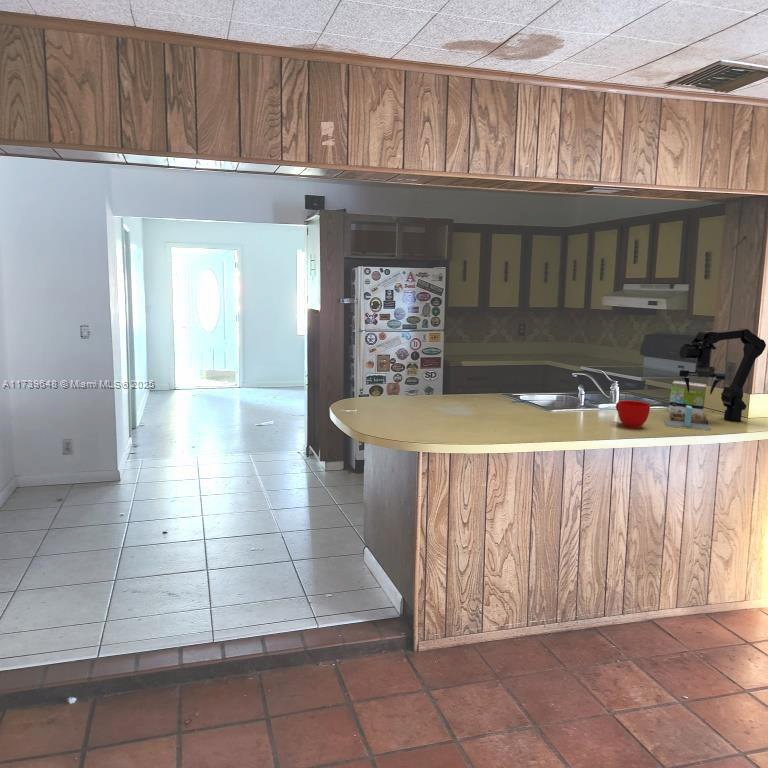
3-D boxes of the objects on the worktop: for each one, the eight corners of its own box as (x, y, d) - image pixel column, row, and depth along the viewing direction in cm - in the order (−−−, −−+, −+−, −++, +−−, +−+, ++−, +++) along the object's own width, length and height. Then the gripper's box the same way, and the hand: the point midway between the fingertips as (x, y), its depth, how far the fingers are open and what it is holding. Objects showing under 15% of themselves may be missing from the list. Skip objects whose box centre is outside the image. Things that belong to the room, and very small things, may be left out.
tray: (704, 420, 307) (705, 416, 307) (707, 425, 296) (708, 421, 296) (669, 416, 312) (670, 412, 312) (671, 421, 301) (671, 417, 301)
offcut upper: (701, 416, 305) (702, 413, 305) (703, 419, 299) (703, 416, 299) (693, 416, 306) (693, 412, 306) (694, 418, 301) (695, 415, 300)
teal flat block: (688, 423, 295) (691, 405, 294) (690, 426, 289) (692, 408, 287) (684, 423, 296) (686, 405, 295) (685, 426, 289) (687, 408, 288)
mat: (708, 426, 294) (708, 424, 294) (710, 431, 285) (711, 429, 285) (664, 422, 300) (664, 420, 300) (665, 426, 291) (665, 424, 291)
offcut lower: (702, 419, 306) (702, 416, 305) (703, 422, 299) (703, 419, 299) (692, 418, 307) (692, 415, 307) (693, 421, 300) (694, 418, 300)
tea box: (667, 412, 323) (671, 382, 320) (669, 409, 332) (673, 380, 329) (702, 417, 316) (706, 386, 314) (703, 413, 325) (707, 383, 322)
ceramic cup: (627, 420, 301) (629, 398, 299) (654, 429, 285) (657, 405, 283) (603, 421, 296) (605, 399, 294) (630, 430, 280) (632, 407, 279)
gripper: (681, 359, 296) (678, 394, 299) (728, 362, 290) (724, 398, 292) (680, 356, 306) (676, 390, 309) (725, 359, 300) (721, 394, 303)
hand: (699, 393), depth 303 cm, fingers open, 9 cm apart
